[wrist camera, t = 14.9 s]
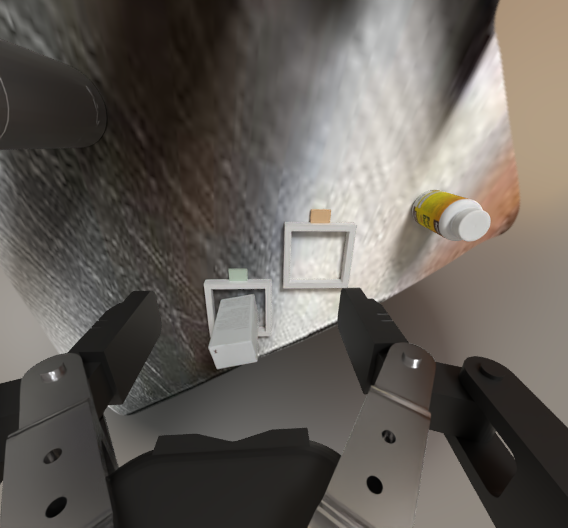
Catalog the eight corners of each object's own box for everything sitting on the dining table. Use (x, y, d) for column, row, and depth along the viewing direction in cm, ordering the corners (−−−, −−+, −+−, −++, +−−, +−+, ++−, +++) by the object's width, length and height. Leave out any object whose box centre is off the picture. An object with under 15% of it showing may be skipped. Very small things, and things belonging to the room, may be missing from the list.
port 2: (282, 284, 45) (283, 288, 44) (284, 209, 40) (285, 211, 39) (345, 283, 46) (347, 287, 45) (355, 209, 41) (358, 212, 39)
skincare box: (226, 318, 48) (215, 370, 37) (220, 298, 46) (206, 347, 35) (259, 312, 48) (257, 363, 37) (254, 292, 46) (251, 339, 35)
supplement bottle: (403, 208, 41) (443, 228, 32) (433, 181, 40) (483, 193, 30) (423, 231, 43) (466, 256, 34) (452, 206, 41) (506, 224, 32)
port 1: (211, 331, 49) (210, 337, 47) (204, 268, 43) (202, 272, 42) (271, 330, 49) (271, 336, 48) (271, 268, 44) (271, 272, 43)
